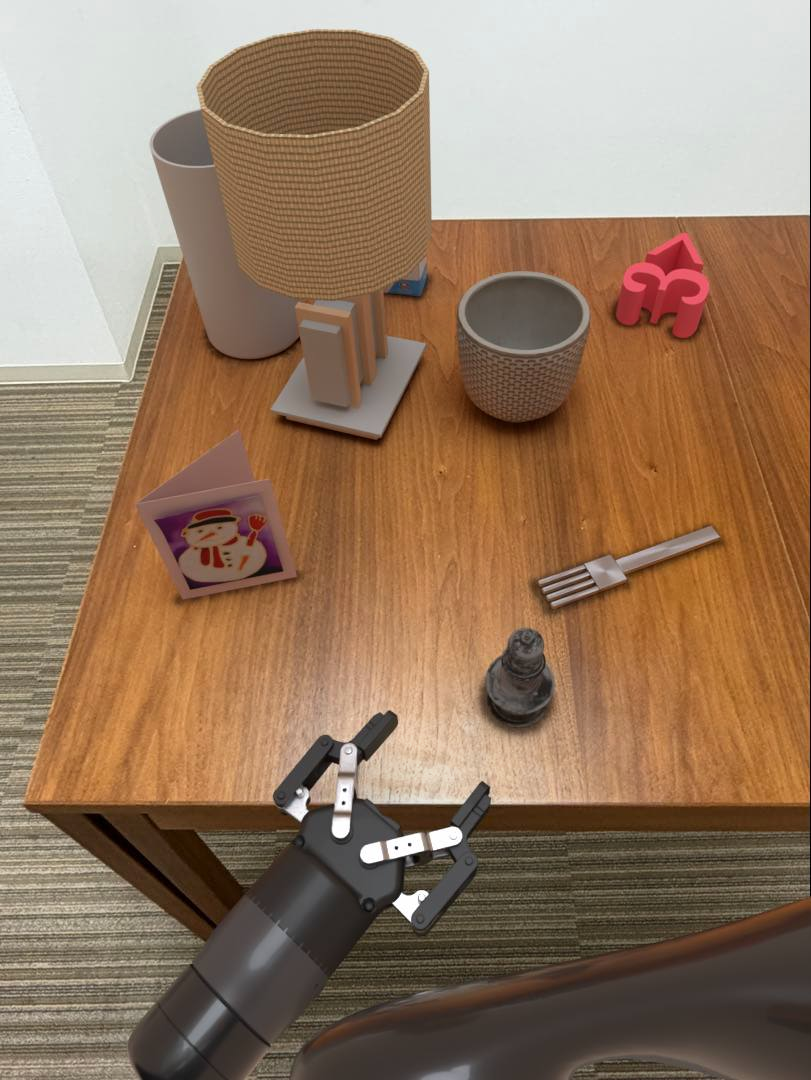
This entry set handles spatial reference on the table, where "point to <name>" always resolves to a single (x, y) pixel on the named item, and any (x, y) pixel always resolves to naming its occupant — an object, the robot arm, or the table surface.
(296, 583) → the table surface
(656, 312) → the letters
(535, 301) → the planter
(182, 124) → the cylinder vase
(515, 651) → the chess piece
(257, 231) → the desk lamp
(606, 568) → the fork
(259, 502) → the greeting card
